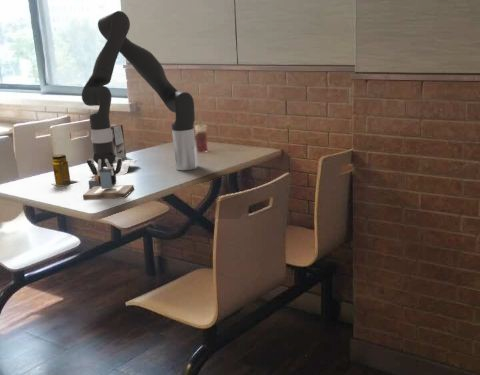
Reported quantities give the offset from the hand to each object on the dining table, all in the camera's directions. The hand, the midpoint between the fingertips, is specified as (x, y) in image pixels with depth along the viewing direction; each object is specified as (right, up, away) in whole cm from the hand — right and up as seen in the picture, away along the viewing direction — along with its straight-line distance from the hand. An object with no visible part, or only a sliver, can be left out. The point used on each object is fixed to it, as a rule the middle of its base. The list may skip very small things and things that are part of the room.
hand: (108, 184), depth 225 cm
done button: (-5, +2, +14) cm, 15 cm away
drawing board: (0, -4, +1) cm, 4 cm away
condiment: (-23, 0, +22) cm, 32 cm away
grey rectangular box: (0, -1, 0) cm, 1 cm away
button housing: (-5, 0, +14) cm, 15 cm away
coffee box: (-11, +13, +65) cm, 67 cm away
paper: (-6, +5, +38) cm, 39 cm away
